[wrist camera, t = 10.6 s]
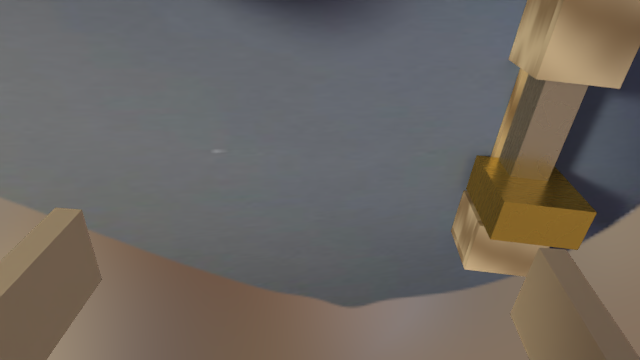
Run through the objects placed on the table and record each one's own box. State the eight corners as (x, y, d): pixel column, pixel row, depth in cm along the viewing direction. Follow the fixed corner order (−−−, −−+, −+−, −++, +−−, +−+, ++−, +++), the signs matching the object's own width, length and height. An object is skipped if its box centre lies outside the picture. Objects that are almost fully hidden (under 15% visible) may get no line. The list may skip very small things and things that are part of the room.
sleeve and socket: (548, -81, 30) (590, -86, 25) (639, -71, 30) (700, -74, 25) (451, 230, 44) (464, 269, 39) (513, 238, 44) (535, 277, 39)
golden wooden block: (516, 28, 33) (561, 51, 26) (605, 38, 33) (673, 63, 26) (453, 227, 43) (473, 283, 36) (522, 236, 42) (555, 293, 36)
